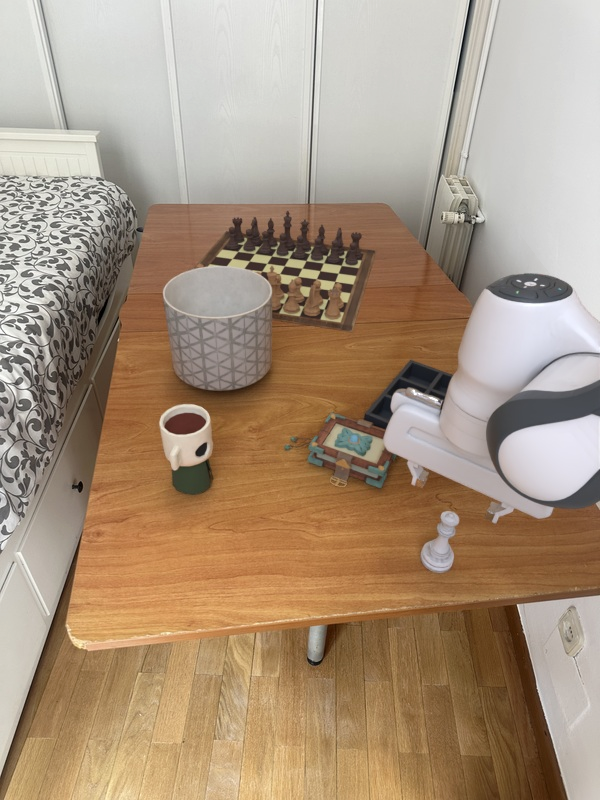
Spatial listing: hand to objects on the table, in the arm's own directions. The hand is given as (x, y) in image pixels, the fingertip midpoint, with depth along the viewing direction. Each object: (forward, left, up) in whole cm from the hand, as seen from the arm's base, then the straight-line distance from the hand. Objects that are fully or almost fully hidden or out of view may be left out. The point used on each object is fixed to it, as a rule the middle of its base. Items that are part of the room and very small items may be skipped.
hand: (453, 500), depth 67 cm
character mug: (+37, +8, -13) cm, 40 cm away
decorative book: (+21, -10, -13) cm, 26 cm away
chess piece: (0, 0, -13) cm, 13 cm away
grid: (+11, -28, -12) cm, 32 cm away
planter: (+51, -17, -13) cm, 55 cm away
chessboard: (+66, -59, -13) cm, 89 cm away
